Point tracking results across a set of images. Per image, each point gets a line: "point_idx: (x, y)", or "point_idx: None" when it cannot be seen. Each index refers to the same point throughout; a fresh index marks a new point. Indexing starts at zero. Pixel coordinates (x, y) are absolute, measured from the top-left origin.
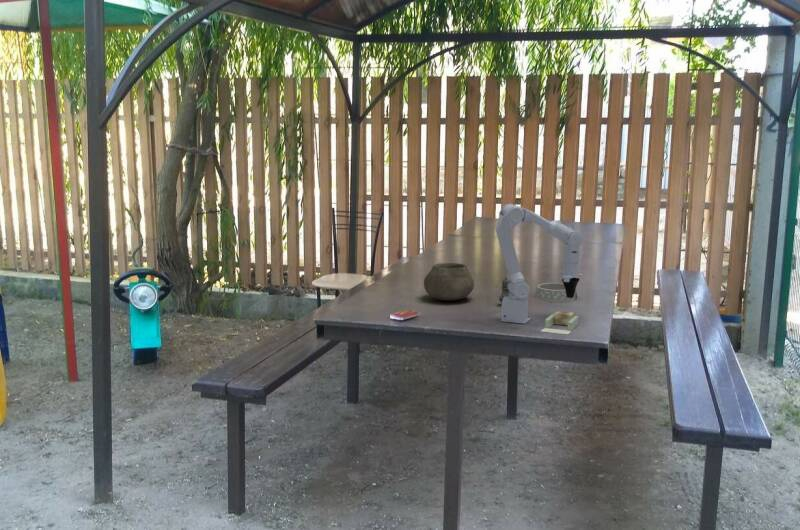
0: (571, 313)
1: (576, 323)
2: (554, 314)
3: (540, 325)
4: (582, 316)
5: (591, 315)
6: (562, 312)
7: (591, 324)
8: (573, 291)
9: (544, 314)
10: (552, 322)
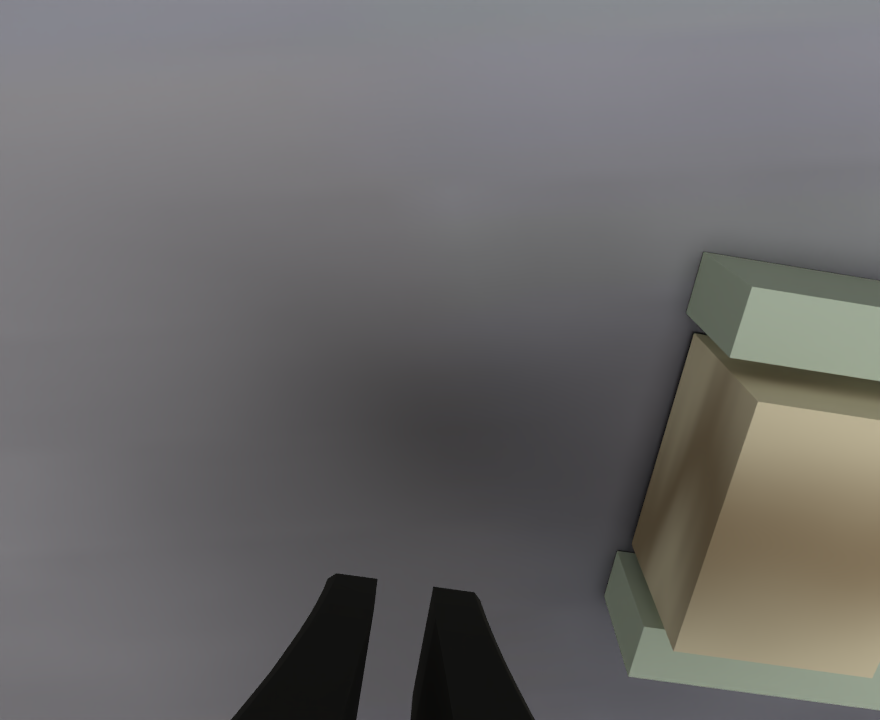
0: (849, 435)
1: (872, 287)
2: None
3: None
4: (186, 221)
5: (50, 70)
6: (784, 578)
7: (707, 34)
8: (531, 717)
9: None
10: None
